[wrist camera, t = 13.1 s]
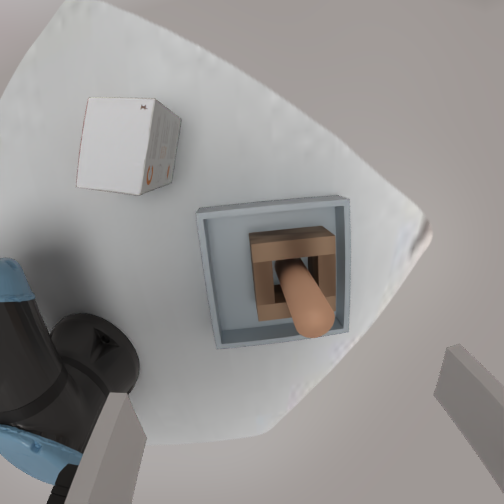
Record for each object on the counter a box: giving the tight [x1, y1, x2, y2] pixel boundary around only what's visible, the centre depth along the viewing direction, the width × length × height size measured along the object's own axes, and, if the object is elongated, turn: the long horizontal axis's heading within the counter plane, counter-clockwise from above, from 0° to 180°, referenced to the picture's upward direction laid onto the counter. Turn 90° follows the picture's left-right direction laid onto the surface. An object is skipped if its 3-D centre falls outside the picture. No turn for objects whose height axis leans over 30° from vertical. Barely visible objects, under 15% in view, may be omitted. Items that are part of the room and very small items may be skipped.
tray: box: [196, 195, 351, 349], centre depth 38 cm, size 17×17×4 cm
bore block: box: [249, 226, 336, 321], centre depth 37 cm, size 9×9×5 cm
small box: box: [76, 97, 181, 196], centre depth 29 cm, size 8×6×13 cm
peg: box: [274, 258, 335, 338], centre depth 33 cm, size 4×4×14 cm
